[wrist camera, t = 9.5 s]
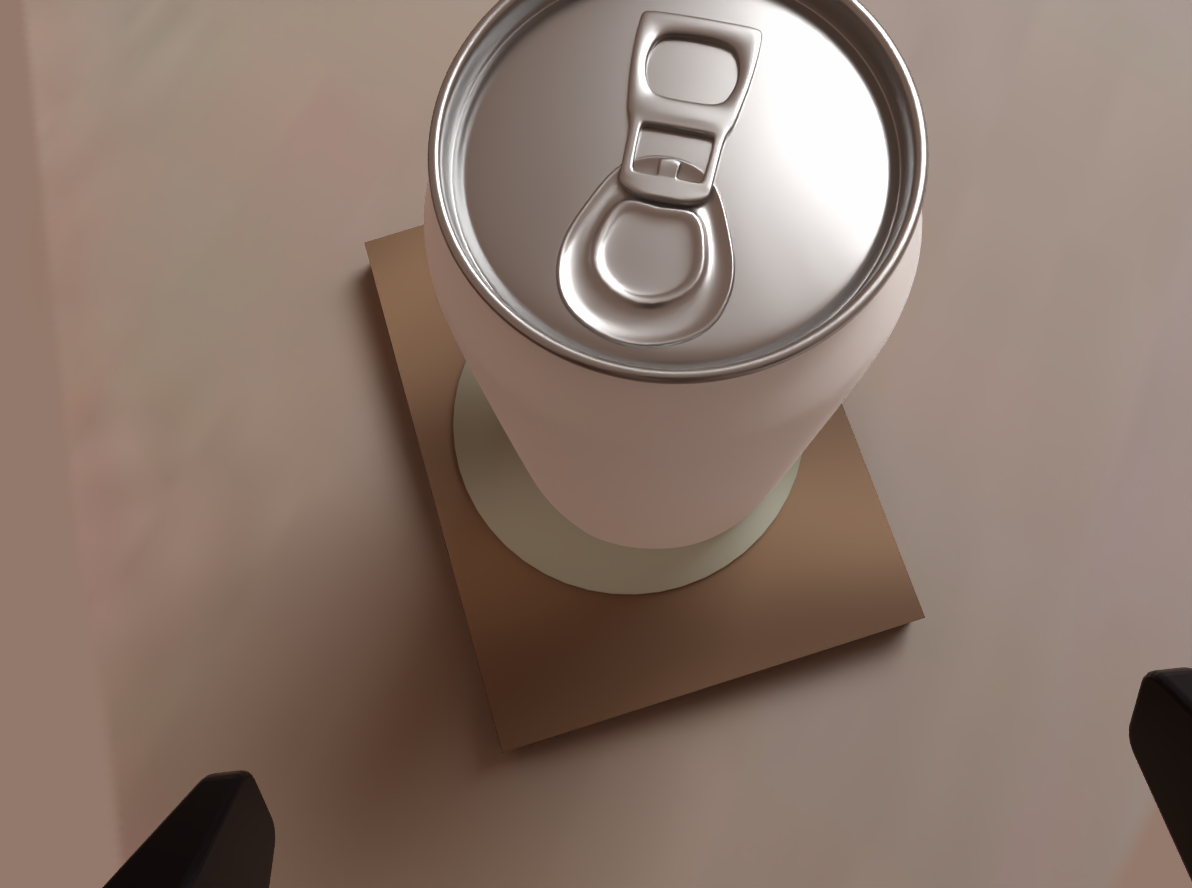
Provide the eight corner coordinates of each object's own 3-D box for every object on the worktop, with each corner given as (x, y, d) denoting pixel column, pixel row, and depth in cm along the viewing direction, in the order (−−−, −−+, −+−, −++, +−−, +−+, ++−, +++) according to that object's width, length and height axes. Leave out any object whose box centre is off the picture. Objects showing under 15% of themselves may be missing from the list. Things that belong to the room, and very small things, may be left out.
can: (489, 520, 22) (318, 353, 10) (553, 268, 23) (470, -138, 11) (762, 580, 21) (925, 480, 9) (811, 319, 22) (1005, -55, 11)
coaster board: (912, 619, 22) (927, 617, 21) (508, 748, 21) (501, 753, 20) (731, 151, 25) (736, 126, 24) (375, 259, 24) (362, 239, 23)
